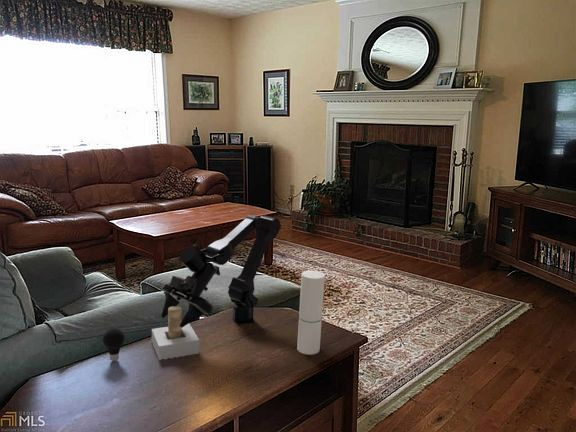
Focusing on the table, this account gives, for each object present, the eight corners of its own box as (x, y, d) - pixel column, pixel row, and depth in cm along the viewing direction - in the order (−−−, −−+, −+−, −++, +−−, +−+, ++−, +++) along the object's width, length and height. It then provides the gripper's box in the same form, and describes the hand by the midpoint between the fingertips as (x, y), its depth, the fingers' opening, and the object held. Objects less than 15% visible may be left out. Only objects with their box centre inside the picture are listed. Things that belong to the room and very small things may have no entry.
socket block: (189, 336, 156) (189, 323, 155) (199, 353, 145) (199, 339, 144) (151, 342, 151) (151, 329, 150) (159, 360, 140) (158, 346, 139)
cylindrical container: (319, 344, 155) (325, 271, 149) (319, 355, 148) (324, 279, 142) (298, 342, 155) (302, 269, 150) (296, 353, 148) (300, 277, 143)
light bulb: (99, 362, 137) (97, 330, 135) (115, 354, 142) (114, 323, 140) (113, 368, 135) (112, 335, 133) (129, 359, 140) (128, 328, 138)
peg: (183, 345, 150) (183, 306, 147) (178, 351, 146) (179, 312, 143) (171, 344, 150) (171, 305, 147) (166, 350, 146) (166, 310, 143)
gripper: (167, 258, 151) (137, 300, 145) (205, 273, 140) (174, 319, 134) (187, 276, 159) (159, 317, 153) (225, 292, 147) (196, 336, 141)
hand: (171, 322), depth 145 cm, fingers open, 9 cm apart
